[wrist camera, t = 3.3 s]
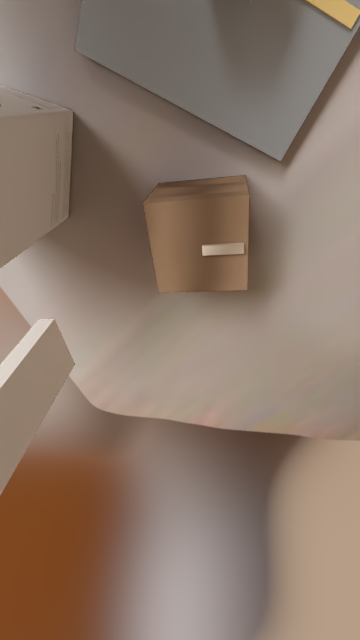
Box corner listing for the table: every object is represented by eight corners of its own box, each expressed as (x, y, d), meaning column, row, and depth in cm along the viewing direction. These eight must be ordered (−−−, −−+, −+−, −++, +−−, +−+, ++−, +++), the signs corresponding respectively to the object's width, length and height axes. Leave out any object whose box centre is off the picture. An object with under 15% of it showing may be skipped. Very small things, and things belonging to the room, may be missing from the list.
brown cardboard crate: (169, 260, 30) (158, 294, 25) (158, 183, 26) (141, 205, 21) (244, 257, 29) (247, 292, 24) (245, 175, 25) (249, 196, 20)
